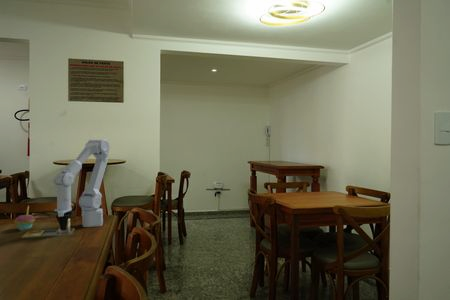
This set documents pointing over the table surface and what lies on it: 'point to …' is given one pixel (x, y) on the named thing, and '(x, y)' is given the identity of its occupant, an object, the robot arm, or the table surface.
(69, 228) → the beech block
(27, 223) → the cupcake
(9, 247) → the table surface
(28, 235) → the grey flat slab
